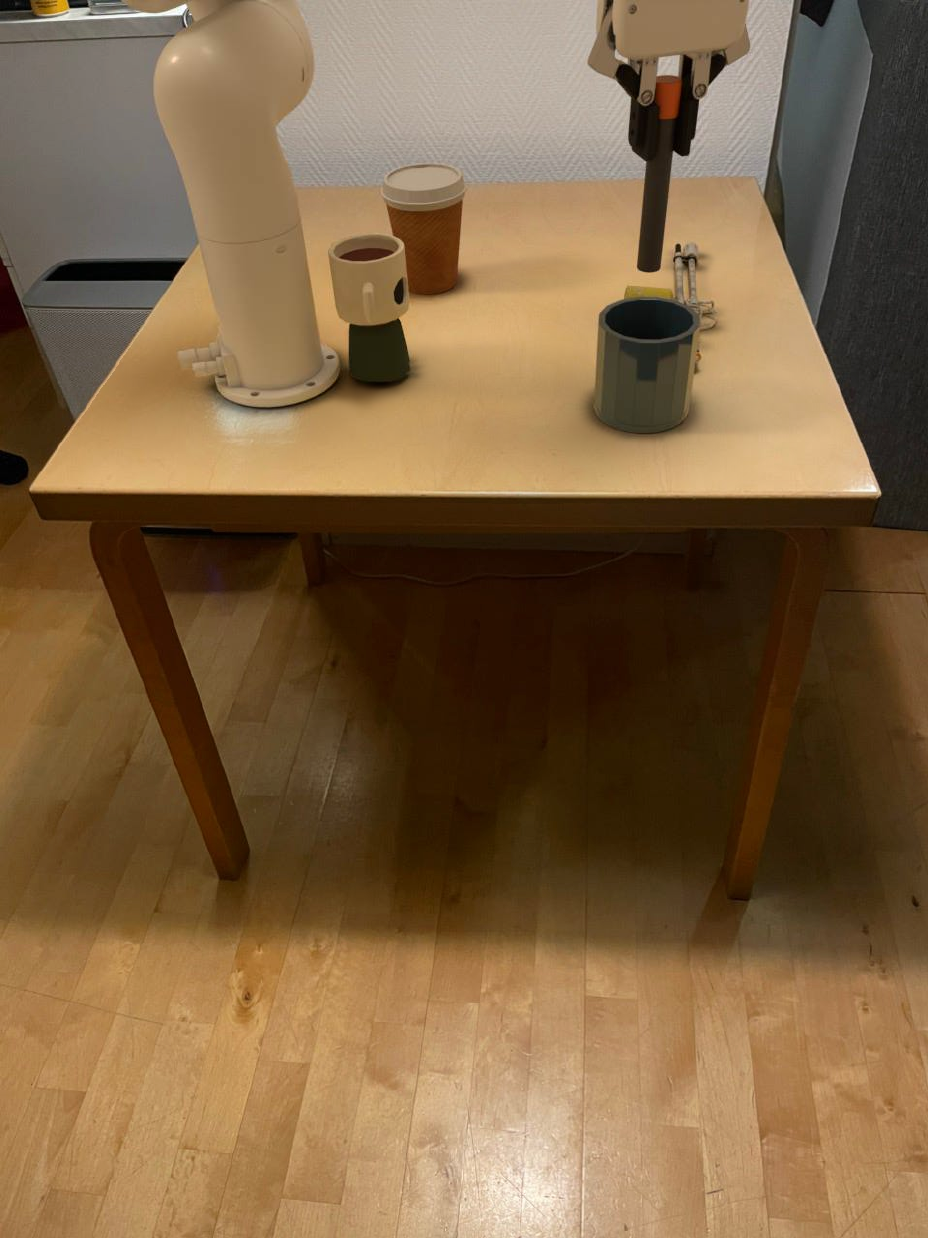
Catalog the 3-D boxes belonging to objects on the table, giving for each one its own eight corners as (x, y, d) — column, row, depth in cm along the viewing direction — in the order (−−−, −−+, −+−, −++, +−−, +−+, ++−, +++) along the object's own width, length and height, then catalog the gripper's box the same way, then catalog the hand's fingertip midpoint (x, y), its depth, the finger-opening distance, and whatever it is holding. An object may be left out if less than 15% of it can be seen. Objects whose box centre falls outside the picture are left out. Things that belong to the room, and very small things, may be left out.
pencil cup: (614, 440, 88) (621, 349, 82) (580, 393, 94) (584, 305, 88) (704, 423, 89) (717, 332, 83) (664, 377, 96) (674, 290, 89)
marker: (641, 274, 82) (659, 84, 72) (631, 264, 83) (647, 76, 73) (666, 271, 82) (687, 80, 72) (655, 260, 83) (674, 73, 74)
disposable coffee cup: (483, 271, 115) (480, 165, 107) (449, 305, 109) (443, 196, 101) (412, 261, 118) (404, 157, 110) (375, 293, 112) (363, 186, 104)
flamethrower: (618, 368, 96) (720, 377, 95) (621, 343, 94) (726, 351, 93) (626, 253, 117) (710, 259, 116) (629, 231, 116) (714, 237, 115)
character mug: (416, 398, 95) (405, 269, 86) (343, 404, 95) (325, 274, 86) (414, 345, 103) (403, 221, 94) (347, 350, 103) (330, 226, 94)
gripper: (771, -158, 68) (731, 126, 80) (554, -141, 65) (547, 150, 77) (829, -148, 62) (776, 155, 75) (595, -129, 59) (580, 182, 72)
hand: (660, 151), depth 76 cm, fingers closed on marker, 2 cm apart
